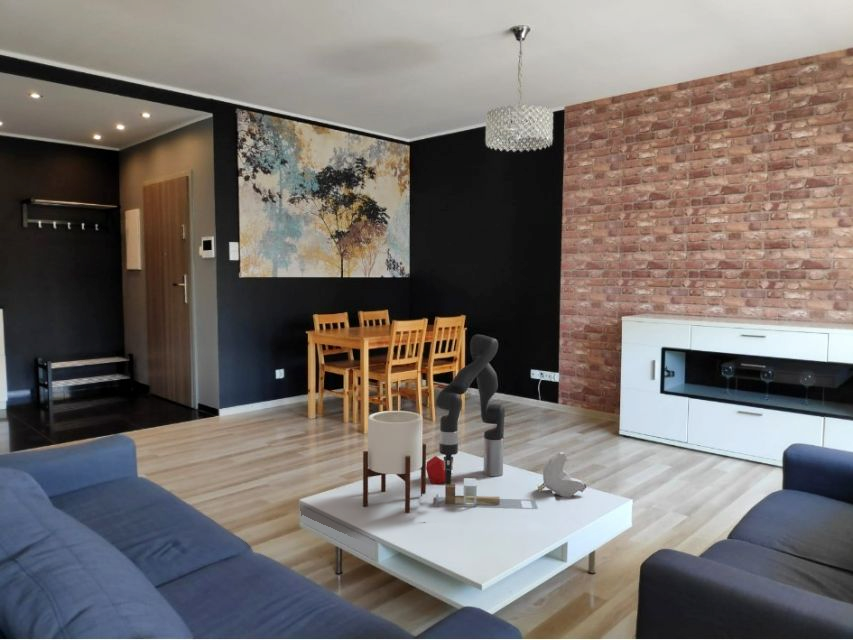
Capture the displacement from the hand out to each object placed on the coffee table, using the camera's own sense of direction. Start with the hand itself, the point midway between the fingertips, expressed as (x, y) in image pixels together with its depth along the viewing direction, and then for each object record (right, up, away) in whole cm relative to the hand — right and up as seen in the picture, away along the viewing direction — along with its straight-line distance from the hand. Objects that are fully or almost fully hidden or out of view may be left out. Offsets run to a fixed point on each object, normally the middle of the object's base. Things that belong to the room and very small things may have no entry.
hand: (448, 480), depth 244 cm
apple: (-4, -9, +30) cm, 31 cm away
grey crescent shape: (+50, -10, +14) cm, 53 cm away
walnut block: (+1, -9, +1) cm, 9 cm away
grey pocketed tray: (+15, -11, 0) cm, 18 cm away
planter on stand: (-22, -10, +5) cm, 25 cm away
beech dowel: (+12, -9, 0) cm, 15 cm away
